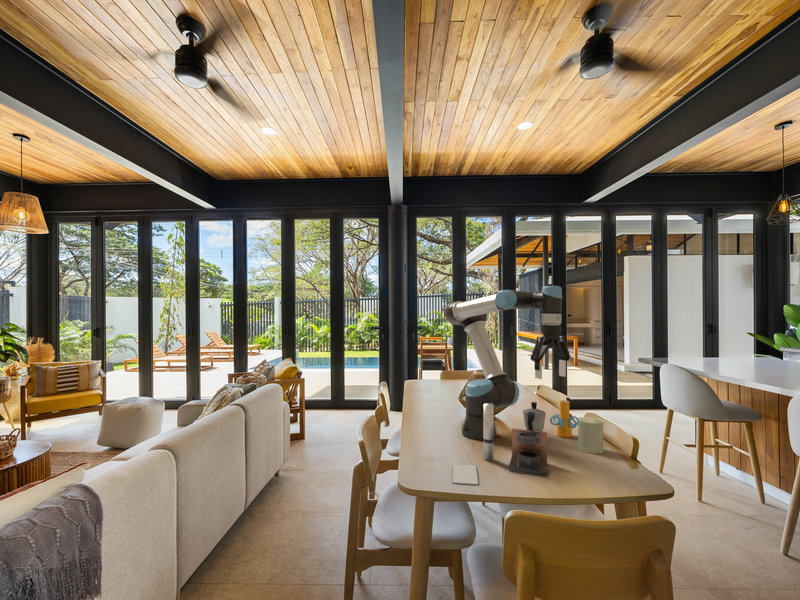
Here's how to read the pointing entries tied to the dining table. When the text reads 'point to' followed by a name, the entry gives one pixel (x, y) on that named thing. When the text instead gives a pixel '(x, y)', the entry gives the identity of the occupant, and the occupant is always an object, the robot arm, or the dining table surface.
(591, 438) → the can
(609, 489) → the dining table surface
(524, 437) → the collar stand
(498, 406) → the robot arm
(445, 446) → the dining table surface
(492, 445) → the silver metal tube
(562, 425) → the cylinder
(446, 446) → the dining table surface
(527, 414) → the coffee maker
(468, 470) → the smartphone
